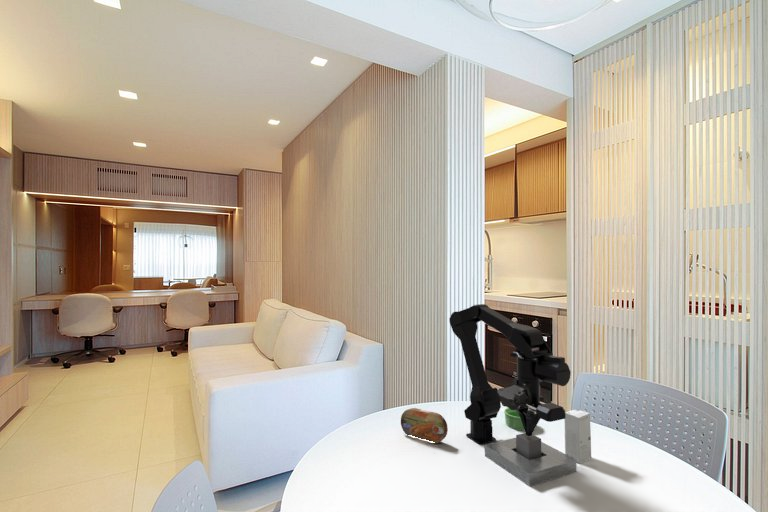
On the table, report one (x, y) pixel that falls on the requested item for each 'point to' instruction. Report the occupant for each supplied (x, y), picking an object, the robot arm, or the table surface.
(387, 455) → the table surface
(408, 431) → the tin
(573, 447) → the skincare box
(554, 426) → the table surface
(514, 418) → the ramekin
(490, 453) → the square hole plate
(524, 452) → the tall grey square pillar
